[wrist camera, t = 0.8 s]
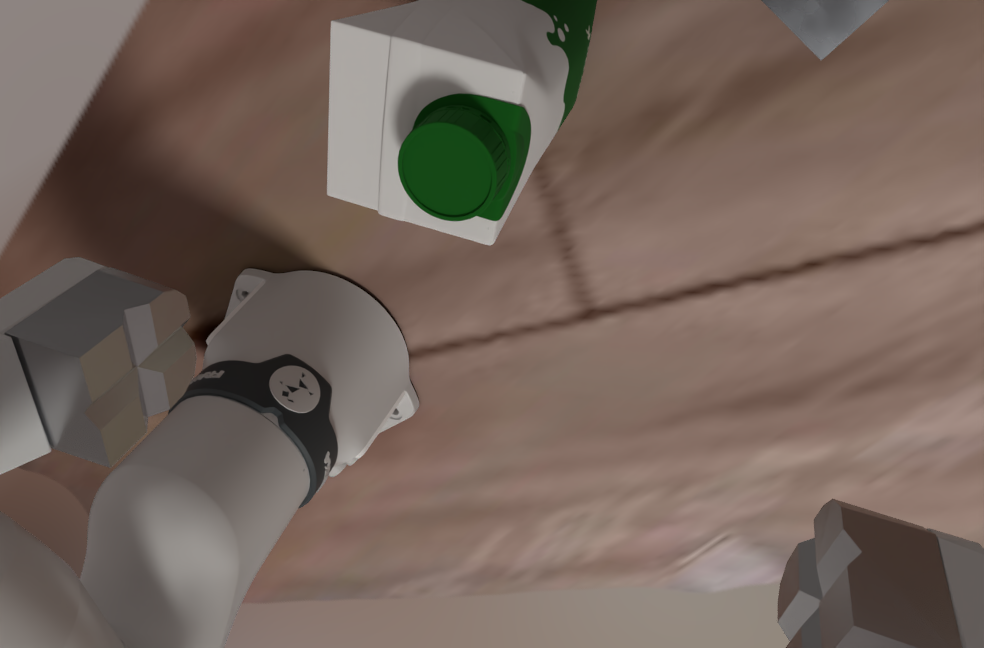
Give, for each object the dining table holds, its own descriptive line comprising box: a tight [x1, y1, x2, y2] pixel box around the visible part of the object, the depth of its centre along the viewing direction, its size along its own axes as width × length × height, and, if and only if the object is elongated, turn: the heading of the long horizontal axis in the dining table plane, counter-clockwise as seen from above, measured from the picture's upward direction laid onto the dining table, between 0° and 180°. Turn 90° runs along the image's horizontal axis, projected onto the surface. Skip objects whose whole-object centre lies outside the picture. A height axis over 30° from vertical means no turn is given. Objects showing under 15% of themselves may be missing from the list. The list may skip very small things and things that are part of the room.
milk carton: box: [327, 0, 597, 245], centre depth 35 cm, size 9×9×20 cm
